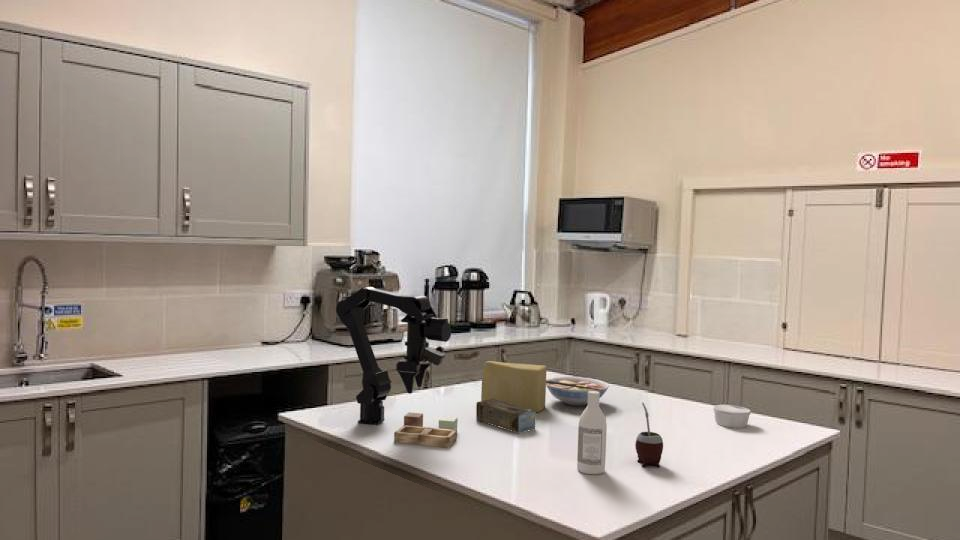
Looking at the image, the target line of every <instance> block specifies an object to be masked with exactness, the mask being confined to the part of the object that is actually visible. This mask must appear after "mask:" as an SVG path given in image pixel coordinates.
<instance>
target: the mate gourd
mask: <svg viewBox="0 0 960 540" xmlns="http://www.w3.org/2000/svg"><path fill="white" fill-rule="evenodd" d="M641 404H642V406H643V407H642V408H643V409H644V412H645V413H644V414H645V418H646V427H647V431H641V432H640V433H638V435H637V436H636V441H635V444H634V445H635V451H636V454H637V458H638V459H637V460H636V461H637V463H639V464H641V467H642V468H647V467H648V466H651V467H654V468H658V469H659V468H661V465H660V462H661V460H662V455H663V450H664V442H663V438H662V436H661V435H660V434H659V433H658V432H653V431H651V429H650V421H649V420H650V419H649V413H648V409H647V407H646V405H645V403H644V402H641Z"/></svg>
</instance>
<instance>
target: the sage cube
mask: <svg viewBox="0 0 960 540" xmlns="http://www.w3.org/2000/svg"><path fill="white" fill-rule="evenodd" d="M458 421H459V419H458V417H454V416H453V417H452V416H442V417H440V419H438V428H439V429H450V430H457V431H458Z"/></svg>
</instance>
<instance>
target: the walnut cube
mask: <svg viewBox="0 0 960 540" xmlns="http://www.w3.org/2000/svg"><path fill="white" fill-rule="evenodd" d="M403 425H407V426H418V427H424V413H420V412H407V413H406V414H405V415H404V416H403Z"/></svg>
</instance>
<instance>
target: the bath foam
mask: <svg viewBox="0 0 960 540" xmlns="http://www.w3.org/2000/svg"><path fill="white" fill-rule="evenodd" d="M600 399H601V398H600V393H599V392H597V391H589V392H588V404H586V405H587V406H586V408H584V410H583V412H582V413H581V415H580V416H579V420H578V429H577V430H578V432H577V457H576V459H577V462H576V468H577V471H579V472H580V473H583V474H585V475H594V476H595V475H601V474H603V473H604V472H605V471H606V455H607V454H606V451H607V450H606V449H607V419H606V417H605V416H606V415H605V414H604V412H603V411H602V409H601V407H600Z"/></svg>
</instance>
